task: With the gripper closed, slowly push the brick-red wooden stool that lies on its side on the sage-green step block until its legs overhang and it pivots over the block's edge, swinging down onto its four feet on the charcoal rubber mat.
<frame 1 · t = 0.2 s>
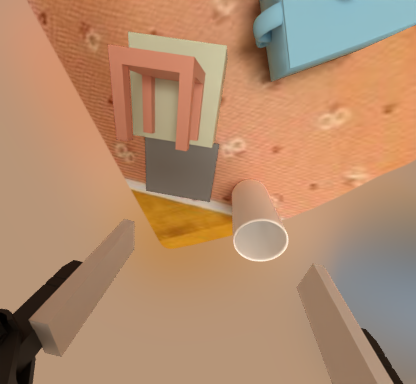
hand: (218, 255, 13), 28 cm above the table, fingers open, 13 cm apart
mat: (179, 169, 40), on the table
teapot: (316, 24, 27), on the table
cup: (249, 194, 41), on the table
step block: (184, 98, 33), on the table
stool: (165, 68, 22), point 12 cm above the table, touching step block
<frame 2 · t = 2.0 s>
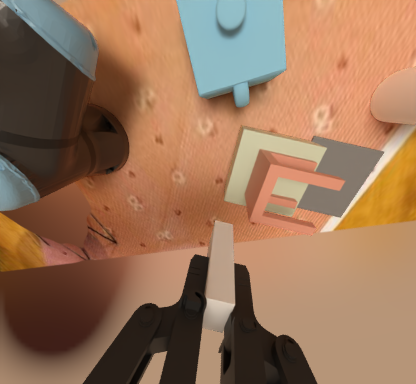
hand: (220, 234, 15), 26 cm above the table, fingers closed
mat: (328, 180, 38), on the table
teapot: (228, 37, 29), on the table
cup: (396, 96, 30), on the table
step block: (263, 165, 38), on the table
stool: (259, 183, 28), point 12 cm above the table, touching step block
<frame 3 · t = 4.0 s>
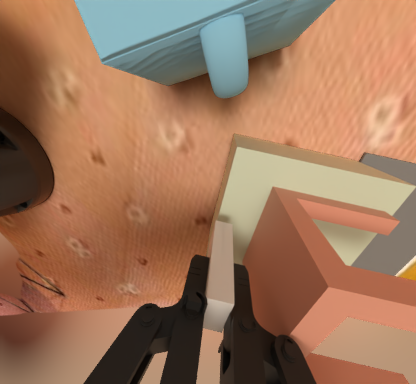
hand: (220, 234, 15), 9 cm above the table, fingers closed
mat: (380, 223, 23), on the table
step block: (272, 199, 23), on the table
stool: (274, 269, 12), point 12 cm above the table, touching gripper
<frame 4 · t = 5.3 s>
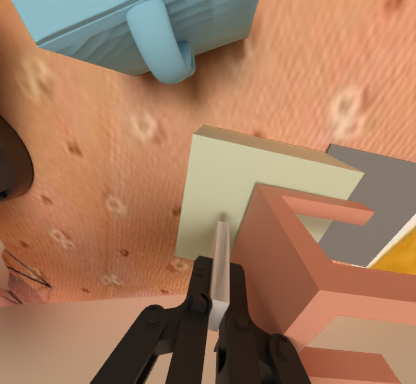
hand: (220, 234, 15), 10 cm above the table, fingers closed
mat: (350, 214, 23), on the table
step block: (245, 190, 23), on the table
stool: (262, 268, 12), point 12 cm above the table, tilted 6°, touching gripper, hand, step block
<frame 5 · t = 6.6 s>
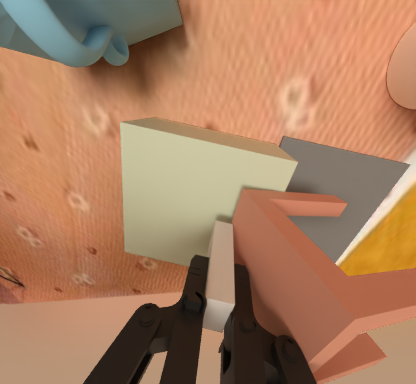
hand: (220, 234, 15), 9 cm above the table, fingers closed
mat: (311, 209, 23), on the table
step block: (204, 185, 23), on the table
stool: (260, 279, 12), point 13 cm above the table, tilted 20°, touching gripper
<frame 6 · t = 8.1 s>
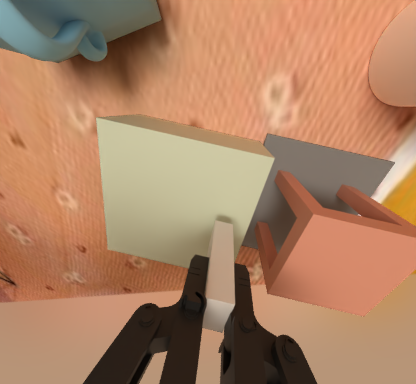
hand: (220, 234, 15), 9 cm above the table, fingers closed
mat: (298, 208, 23), on the table
step block: (190, 183, 23), on the table
stool: (336, 265, 15), point 9 cm above the table, tilted 90°, touching mat
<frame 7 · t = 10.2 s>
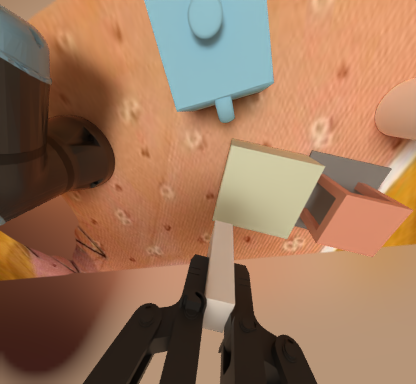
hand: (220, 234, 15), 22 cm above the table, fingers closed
mat: (328, 197, 34), on the table
teapot: (215, 44, 27), on the table
cup: (404, 108, 27), on the table
step block: (257, 180, 35), on the table
stool: (357, 225, 26), point 9 cm above the table, tilted 90°, touching mat
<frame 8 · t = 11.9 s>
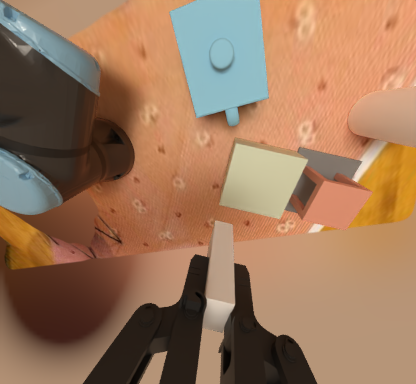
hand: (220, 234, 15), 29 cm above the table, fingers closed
mat: (313, 186, 42), on the table
teapot: (222, 62, 34), on the table
cup: (369, 114, 35), on the table
step block: (255, 172, 42), on the table
stool: (333, 205, 34), point 9 cm above the table, tilted 90°, touching mat
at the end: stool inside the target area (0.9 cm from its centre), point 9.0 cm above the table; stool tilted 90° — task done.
